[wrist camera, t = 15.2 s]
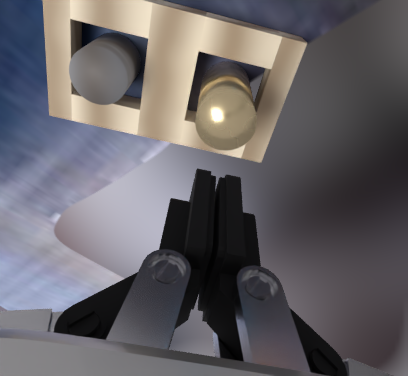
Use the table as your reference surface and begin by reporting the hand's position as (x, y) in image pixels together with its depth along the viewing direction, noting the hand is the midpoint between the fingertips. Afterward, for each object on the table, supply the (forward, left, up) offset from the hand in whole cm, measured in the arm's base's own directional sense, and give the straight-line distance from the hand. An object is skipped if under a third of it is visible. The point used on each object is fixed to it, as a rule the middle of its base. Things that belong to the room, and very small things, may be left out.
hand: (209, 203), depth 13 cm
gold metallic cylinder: (-1, +2, -20) cm, 20 cm away
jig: (+4, +2, -20) cm, 20 cm away
